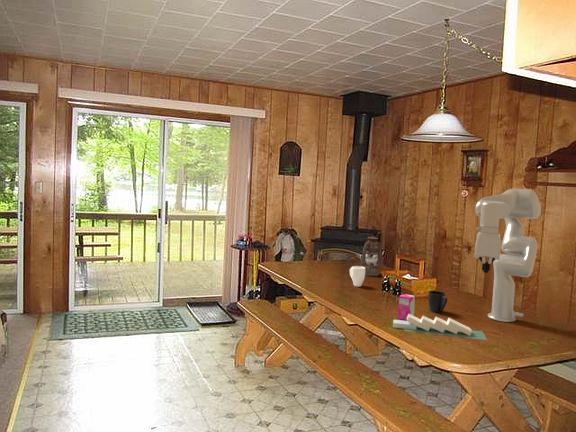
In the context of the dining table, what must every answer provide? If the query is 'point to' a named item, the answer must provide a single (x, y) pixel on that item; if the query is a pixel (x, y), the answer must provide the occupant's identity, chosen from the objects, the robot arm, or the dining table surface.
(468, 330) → the domino
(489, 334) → the dining table surface
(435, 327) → the domino
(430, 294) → the mug
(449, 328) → the domino
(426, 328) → the domino
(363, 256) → the lantern
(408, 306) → the supplement box
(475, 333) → the runner mat
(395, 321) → the domino
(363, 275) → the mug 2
